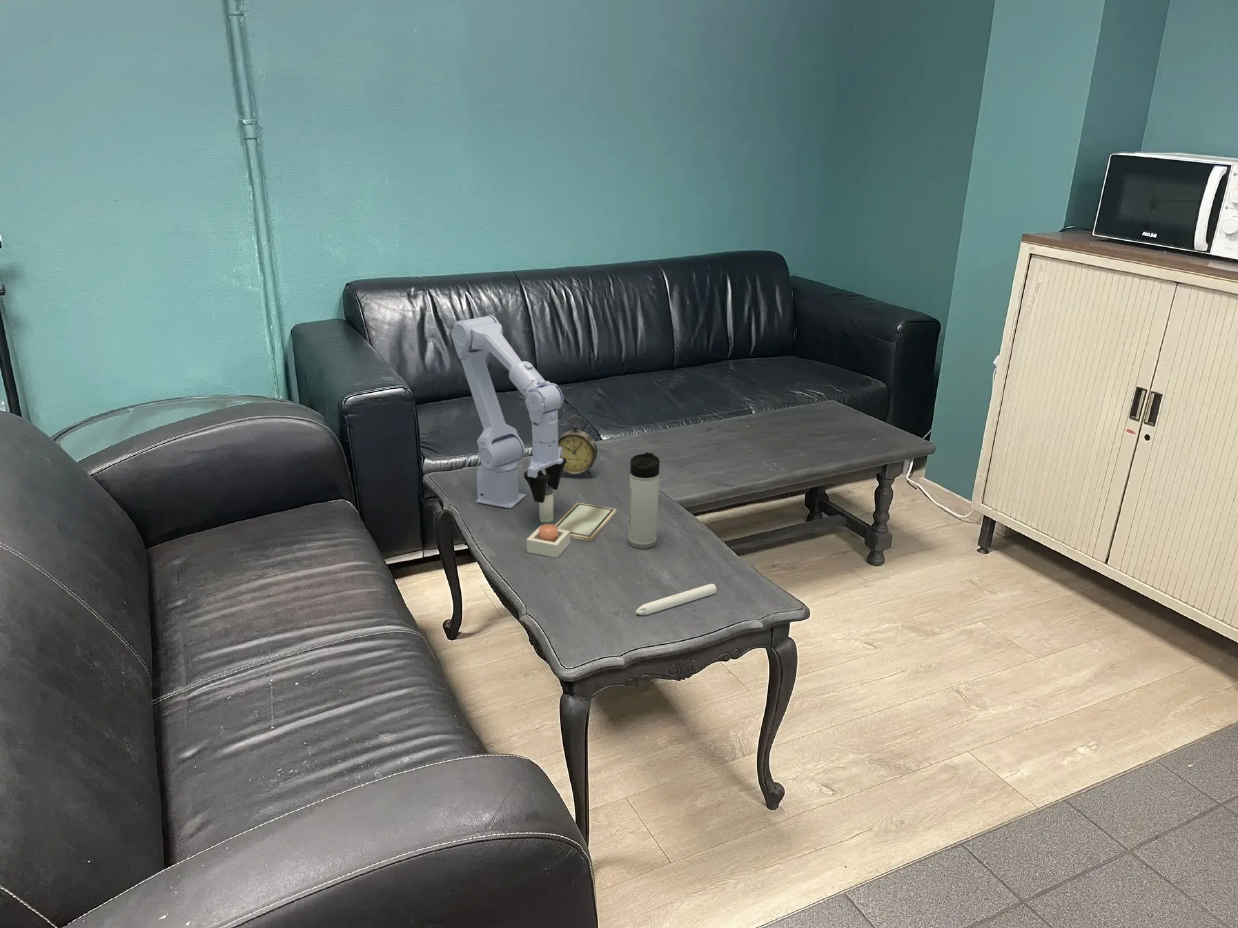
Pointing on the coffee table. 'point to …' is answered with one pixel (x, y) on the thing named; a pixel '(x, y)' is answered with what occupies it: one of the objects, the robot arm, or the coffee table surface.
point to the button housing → (548, 544)
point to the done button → (548, 532)
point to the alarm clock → (578, 450)
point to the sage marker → (546, 507)
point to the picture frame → (585, 520)
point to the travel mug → (643, 500)
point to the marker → (676, 599)
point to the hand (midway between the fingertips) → (546, 495)
